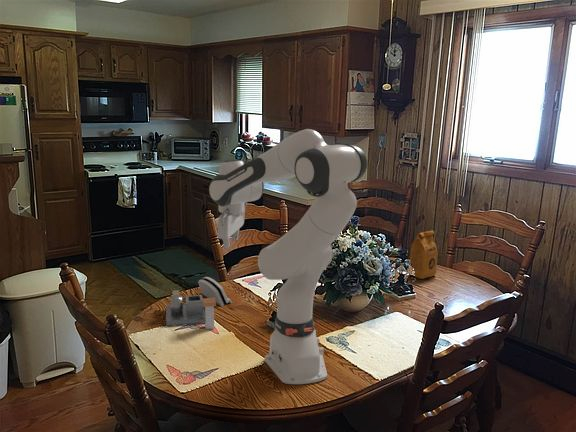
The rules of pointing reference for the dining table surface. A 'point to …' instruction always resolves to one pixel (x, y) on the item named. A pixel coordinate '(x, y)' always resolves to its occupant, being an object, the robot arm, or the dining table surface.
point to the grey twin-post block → (185, 310)
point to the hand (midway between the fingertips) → (231, 244)
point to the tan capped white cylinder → (209, 312)
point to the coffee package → (424, 255)
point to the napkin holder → (213, 290)
